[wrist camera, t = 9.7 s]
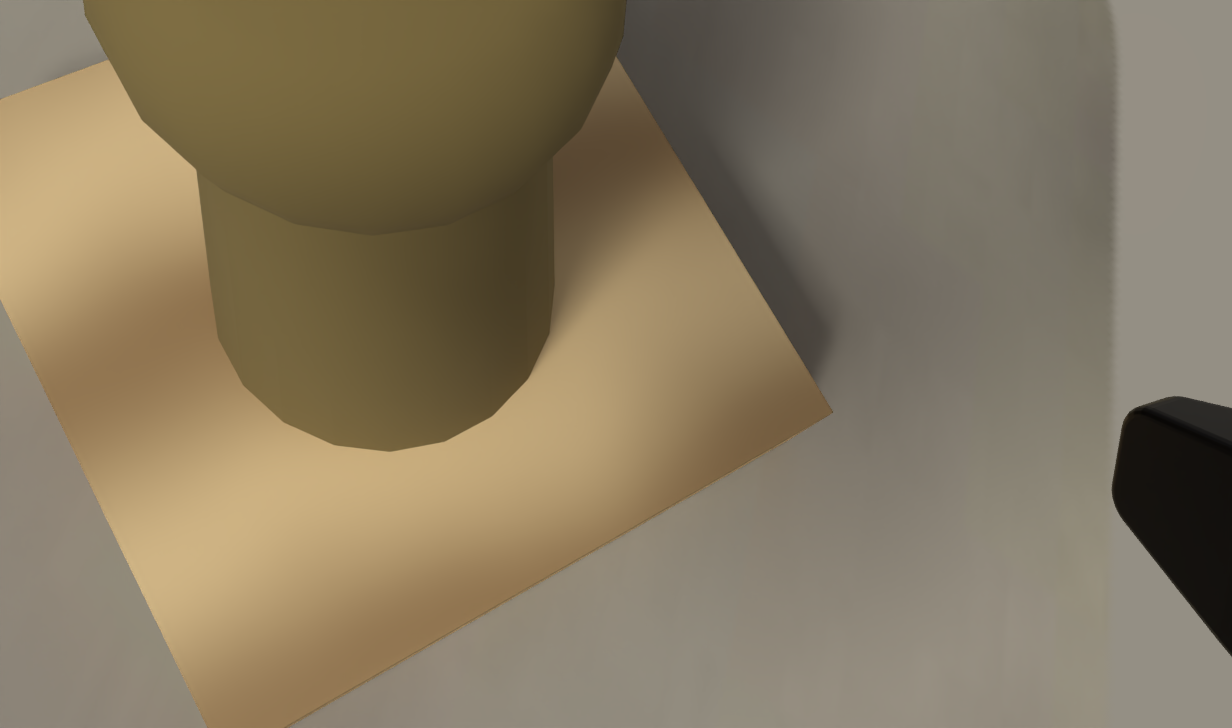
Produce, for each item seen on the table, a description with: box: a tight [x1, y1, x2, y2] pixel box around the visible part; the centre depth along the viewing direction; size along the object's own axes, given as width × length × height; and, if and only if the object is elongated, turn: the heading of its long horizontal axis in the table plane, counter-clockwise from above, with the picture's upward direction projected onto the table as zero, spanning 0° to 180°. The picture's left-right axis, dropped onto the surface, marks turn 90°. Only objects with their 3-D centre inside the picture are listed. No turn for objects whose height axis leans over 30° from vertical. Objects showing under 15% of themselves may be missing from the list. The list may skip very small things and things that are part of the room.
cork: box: [83, 0, 627, 452], centre depth 14 cm, size 6×6×11 cm
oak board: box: [0, 57, 833, 728], centre depth 21 cm, size 12×12×2 cm
